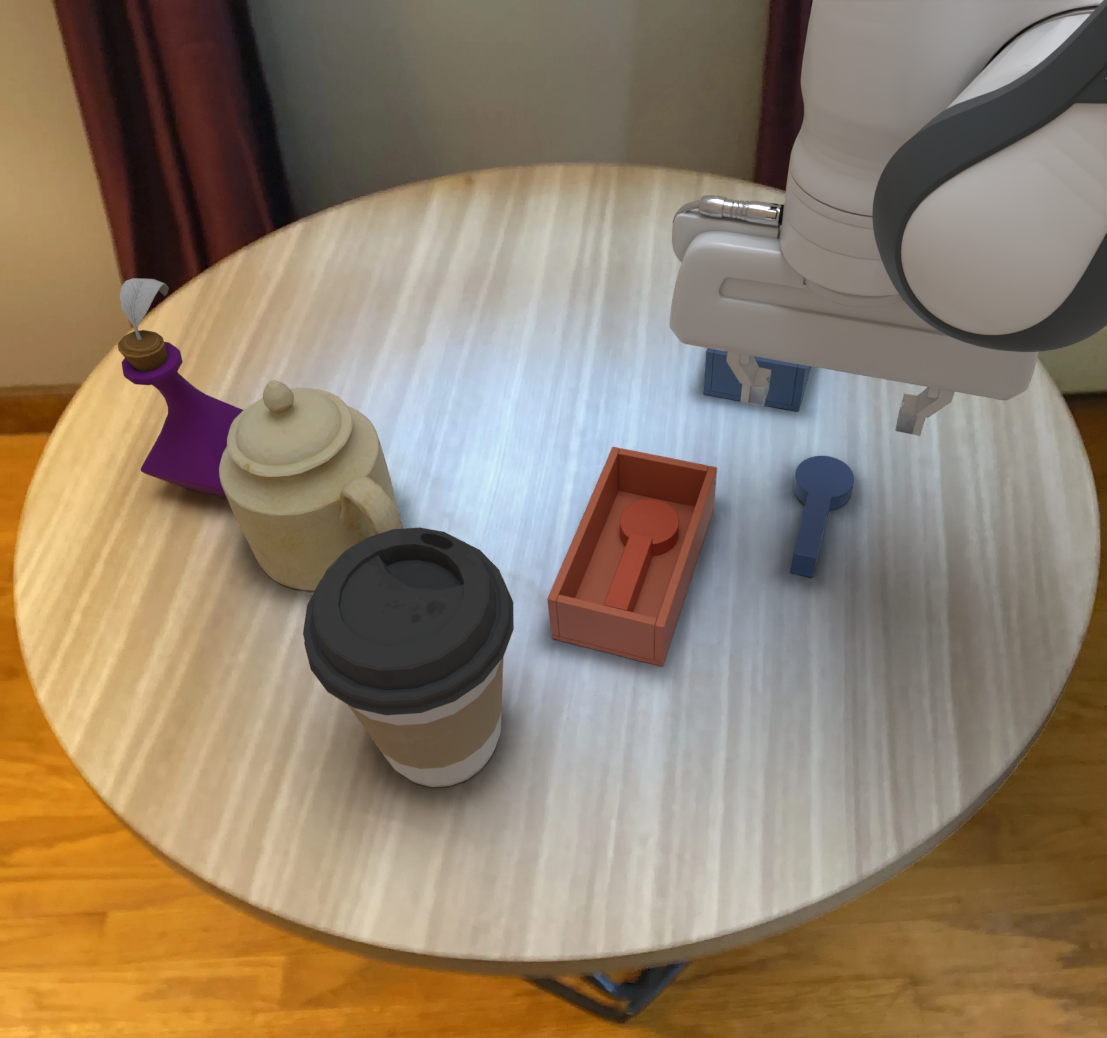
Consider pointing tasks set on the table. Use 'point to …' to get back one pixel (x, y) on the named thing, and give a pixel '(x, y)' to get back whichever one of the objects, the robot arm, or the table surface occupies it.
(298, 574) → the sugar bowl
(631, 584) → the red spoon
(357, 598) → the coffee cup
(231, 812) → the table surface
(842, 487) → the blue spoon
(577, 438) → the table surface
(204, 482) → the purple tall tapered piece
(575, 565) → the red bin
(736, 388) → the blue bin
